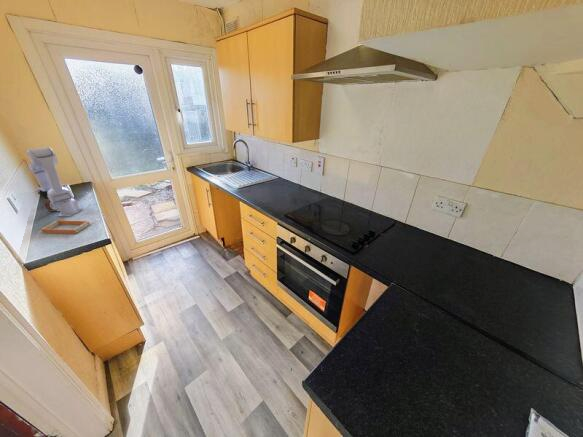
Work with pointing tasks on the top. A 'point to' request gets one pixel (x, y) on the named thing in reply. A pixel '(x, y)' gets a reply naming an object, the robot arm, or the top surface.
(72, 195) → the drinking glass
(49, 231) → the wooden frame
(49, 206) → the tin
